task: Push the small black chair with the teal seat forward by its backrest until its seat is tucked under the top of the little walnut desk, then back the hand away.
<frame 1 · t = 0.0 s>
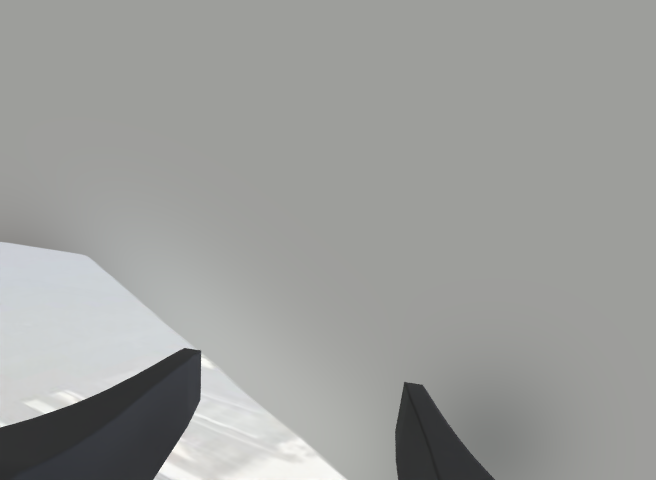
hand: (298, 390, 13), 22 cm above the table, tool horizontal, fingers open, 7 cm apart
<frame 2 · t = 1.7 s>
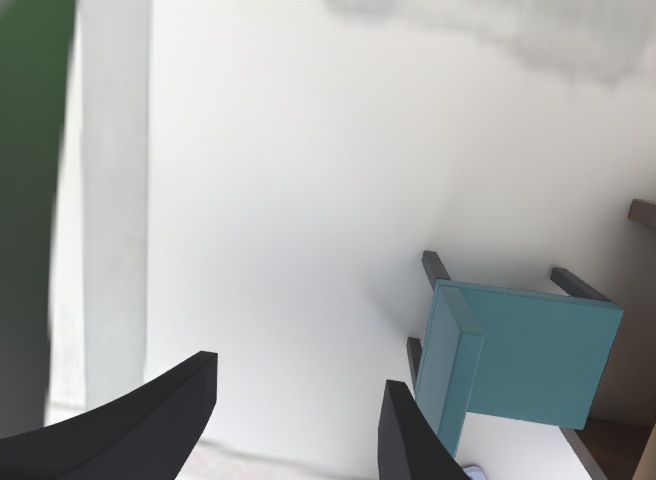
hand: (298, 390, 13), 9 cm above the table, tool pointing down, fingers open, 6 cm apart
chair: (509, 353, 17), point 5 cm above the table, slide at 0.0 cm
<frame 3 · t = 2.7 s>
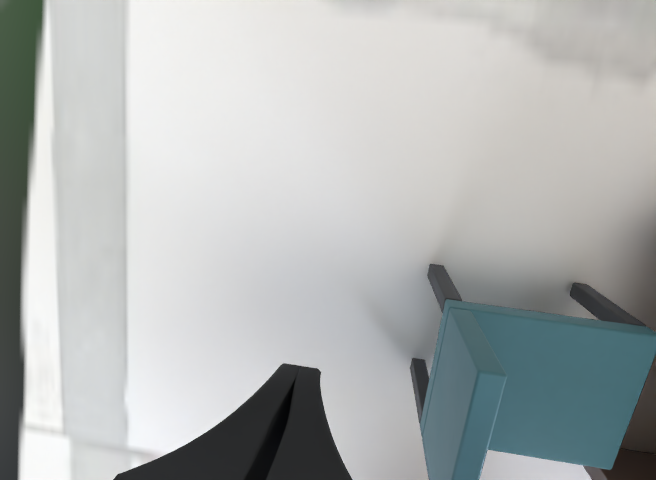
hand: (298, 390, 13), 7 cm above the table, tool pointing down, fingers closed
chair: (528, 383, 15), point 5 cm above the table, slide at 0.0 cm
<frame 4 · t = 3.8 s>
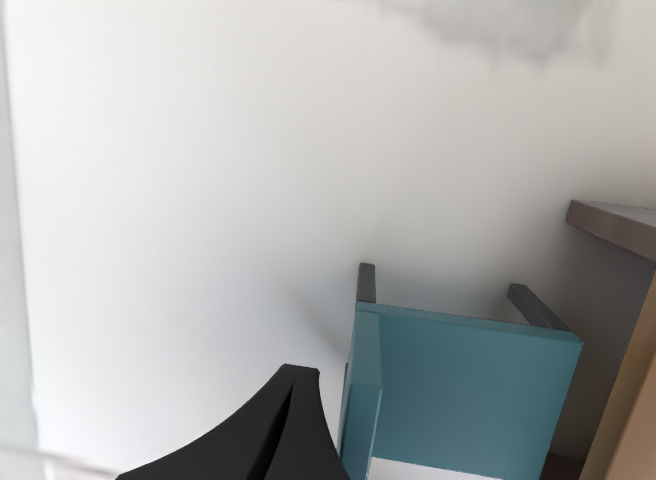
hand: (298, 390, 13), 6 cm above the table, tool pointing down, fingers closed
chair: (448, 392, 14), point 5 cm above the table, slide at 1.3 cm, touching gripper
desk: (640, 360, 18), on the table
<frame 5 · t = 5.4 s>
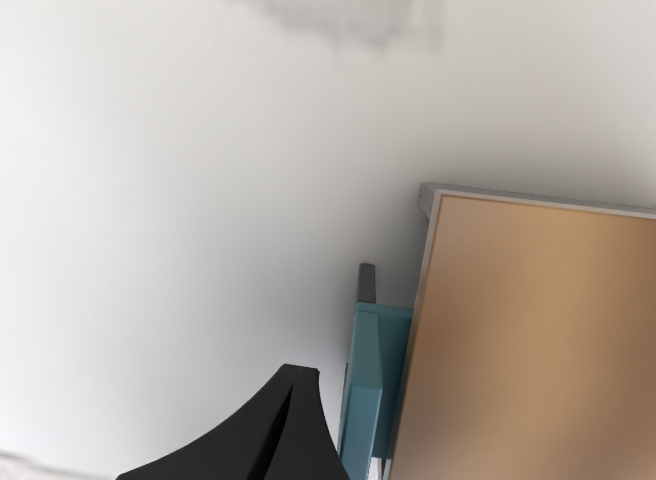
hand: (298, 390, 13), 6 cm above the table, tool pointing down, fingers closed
chair: (448, 392, 14), point 5 cm above the table, slide at 7.6 cm, touching gripper
desk: (502, 340, 18), on the table
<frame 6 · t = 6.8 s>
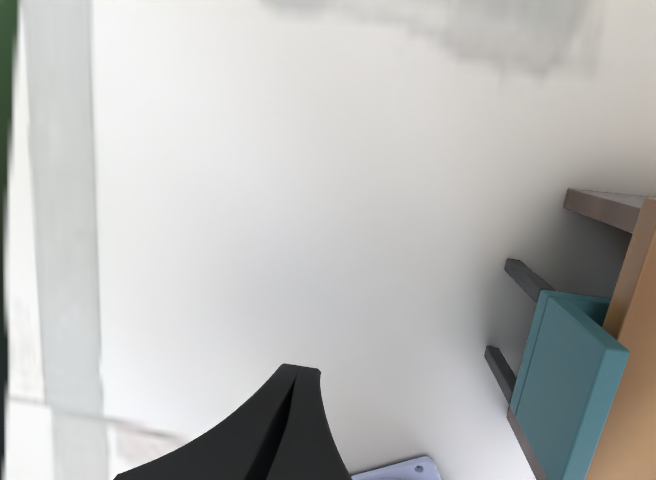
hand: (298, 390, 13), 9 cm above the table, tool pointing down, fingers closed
chair: (614, 365, 17), point 5 cm above the table, slide at 7.6 cm
desk: (628, 325, 21), on the table
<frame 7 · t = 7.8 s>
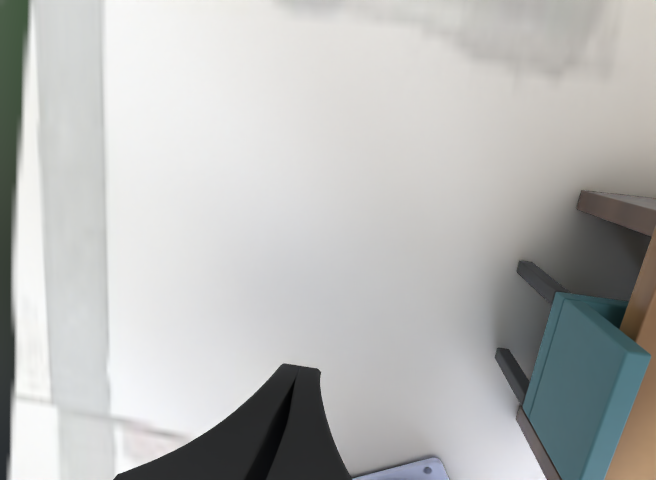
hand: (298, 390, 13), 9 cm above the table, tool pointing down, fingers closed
chair: (628, 368, 17), point 5 cm above the table, slide at 7.6 cm
desk: (639, 327, 21), on the table
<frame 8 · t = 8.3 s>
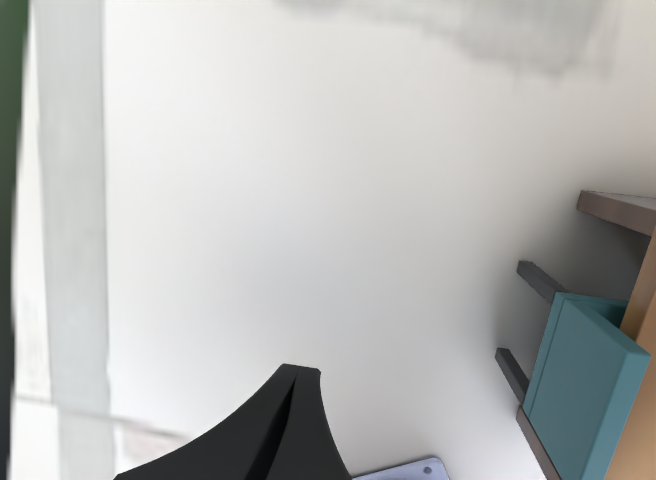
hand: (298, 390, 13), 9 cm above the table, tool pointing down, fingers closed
chair: (628, 368, 17), point 5 cm above the table, slide at 7.6 cm
desk: (639, 327, 21), on the table
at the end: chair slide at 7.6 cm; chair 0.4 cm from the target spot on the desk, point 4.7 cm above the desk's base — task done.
